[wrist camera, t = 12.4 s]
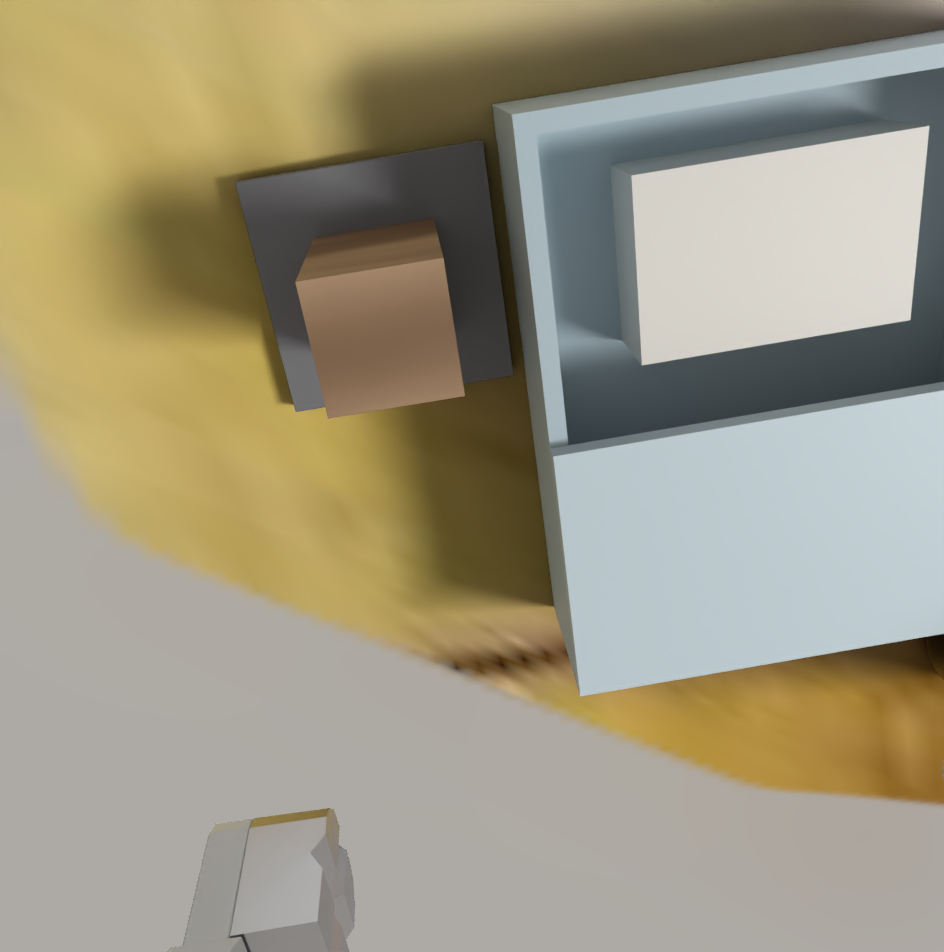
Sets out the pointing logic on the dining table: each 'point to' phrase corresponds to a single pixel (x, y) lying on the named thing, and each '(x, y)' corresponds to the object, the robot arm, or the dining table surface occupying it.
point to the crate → (736, 356)
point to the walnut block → (380, 318)
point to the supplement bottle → (936, 652)
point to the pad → (376, 205)
